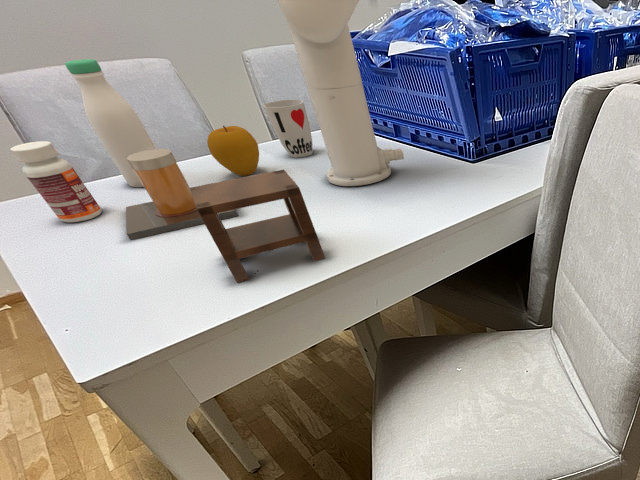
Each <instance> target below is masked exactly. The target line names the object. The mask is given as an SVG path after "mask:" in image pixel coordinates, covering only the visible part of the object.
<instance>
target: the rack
mask: <svg viewBox="0 0 640 480" xmlns="http://www.w3.org/2000/svg"><path fill="white" fill-rule="evenodd" d="M189 187H190V186H189ZM190 190H191V194H192V197H193V200H194V203H195V206H196V209H197V211H198V212H199V214H200V216H201V218H202V220H203V222H204V225H205V227H206V229H207V231H208V233H209V235H210V237H211V238H212V241H213V242H214V244H215V245H216V247H217V249H218V251H219V253H220V254H221V256H222V258H223V260H224V262H225V264H226V266H227V267H228V269H229V271H230V273H231V275H232V277H233V278H234V281H235V282H236V283H241V282H245V281H249V280H250V278H249V275H248V273H247V271H246V269H245V267H244V266H243V263H242V261H241V259H244V258H248V257H253V256H256V255H258V254H264V253H268V252H271V251H274V250H279V249H283V248H287V247H291V246H295V245H299V244H303V243H305V244H306V246H307V249H308V252H309V254H310V257H311V259H312V261H314V262H317V261H321V260H324V259H326V255H325V253H324V250H323V248H322V245H321V242H320V239H319V237H318V234H317V231H316V229H315V226H314V223H313V221H312V218H311V215H310V212H309V211H308V207H307V204H306V202H305V200H304V197H303V194H302V191H301V188H300V187H299V185H298V184H297V183H296V181H294V179H293V178H292V177H291V176H290V175H289V174H288V172H287V171H286V170H285V169H284V168H283V169H278V170H274V171H269V172H264V173H258V174H251V175H248V176H241V177H238V178H233V179H227V180H222V181H217V182H211V183H206V184H201V185H196V186H191V187H190ZM280 200H283V202H284V205H285V207H286V209H287V212H288V214H284V215H280V216H275V217H271V218H266V219H263V220H258V221H254V222H250V223H246V224H241V225H237V226H233V227H228V228H226V227H225V225H224V223H223V221H222V220H221V219H220V217H219V215H218V213H221V212H225V211H230V210H234V209H236V210H238V209H242V208H247V207H252V206H257V205H262V204H266V203H271V202H274V201H280Z"/></svg>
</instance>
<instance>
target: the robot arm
mask: <svg viewBox="0 0 640 480" xmlns="http://www.w3.org/2000/svg"><path fill="white" fill-rule="evenodd" d="M359 1H360V0H278V4H279V7H280V10H281V12H282V14H283V16H284V19H285V21H286V24H287V26H288V29H289V32H290V36H291V39H292V43H293V45H294V48H295V52H296V55H297V58H298V61H299V65H300V68H301V71H302V74H303V77H304V81H305V84H306V88H307V91H308V95H309V98H310V101H311V104H312V107H313V111H314V114H315V116H316V120H317V123H318V126H319V129H320V133H321V136H322V139H323V142H324V145H325V149H326V151H327V155H328V158H329V162H330V165H331V168H330V169H328V170H327V172H326V174H325V176H326V179H327V182H329V183H330V184H332V185H335V186H339V187H340V186H342V187H361V186H366V185H370V184H375V183H378V182H381V181H383V180H385V179H387V178H388V177H390V175H391V174H392V169H391V165H389V164H390V163H391V162H392V161H401V160H404V159H405V155H404V151H403V150H402V148H397V149H392V148H386V149H382V148H380V147H379V146H378V143H377V140H376V135H375V131H374V127H373V123H372V118H371V114H370V110H369V106H368V101H367V98H366V94H365V89H364V84H363V80H362V79H363V78H362V76H361V72H360V71H361V70H360V67H359V63H358V60H357V55H356V51H355V47H354V44H353V43H354V42H353V39H352V35H351V32H350V31H351V30H350V28H349V24H348V23H349V22H350V20H351V17H352V15H353V14H354V11H355V9H356V7H357V5H358V3H359Z"/></svg>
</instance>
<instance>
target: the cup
mask: <svg viewBox="0 0 640 480" xmlns="http://www.w3.org/2000/svg"><path fill="white" fill-rule="evenodd" d="M262 107H263V109H264V111H265V113H266V115H267V118H268V120H269V122H270V124H271V127H272V129H273V131H274V132H275V134H276V136H277V138H278V140H279V142H280V143H281V145H282V147H283V148H284V150H285V151H286V153H287V154H288V155H289V157H291V158H304V157H309V156H311V155H313V154H314V151H313V136H312V132H311V126H310V121H309V117H308V114H307V113H308V112H307V110H306V105H305V103H304V100H302V99H280V100H274V101H269V102H266V103H264V104H263V106H262Z"/></svg>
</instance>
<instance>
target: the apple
mask: <svg viewBox="0 0 640 480" xmlns="http://www.w3.org/2000/svg"><path fill="white" fill-rule="evenodd" d="M206 142H207V143H206V144H207V147H208V151H209V152H210V155H211V156H212V157H213V158H214V159H215V161H217V163H218V164H220V165H221V166H222V167H224V168H225V169H226V170H228V171H229V172H231V173H232V174H235V175H237V176H240V177H247V176H252V175H254V174H255V172H256V171H257V169H258V165H259V161H260V148H259V144H258V142H257V140H256V138H255V137H254V136H253V135H252V134H251V133H250V132H249V131H248V130H247V129H246V128H243V127H240V126H237V125H229V126H225V125H224V124H223V125H222V127H220V128H217V129H214V130H212V131H211V132H210V133H209V134H208V136H207V139H206Z"/></svg>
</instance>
